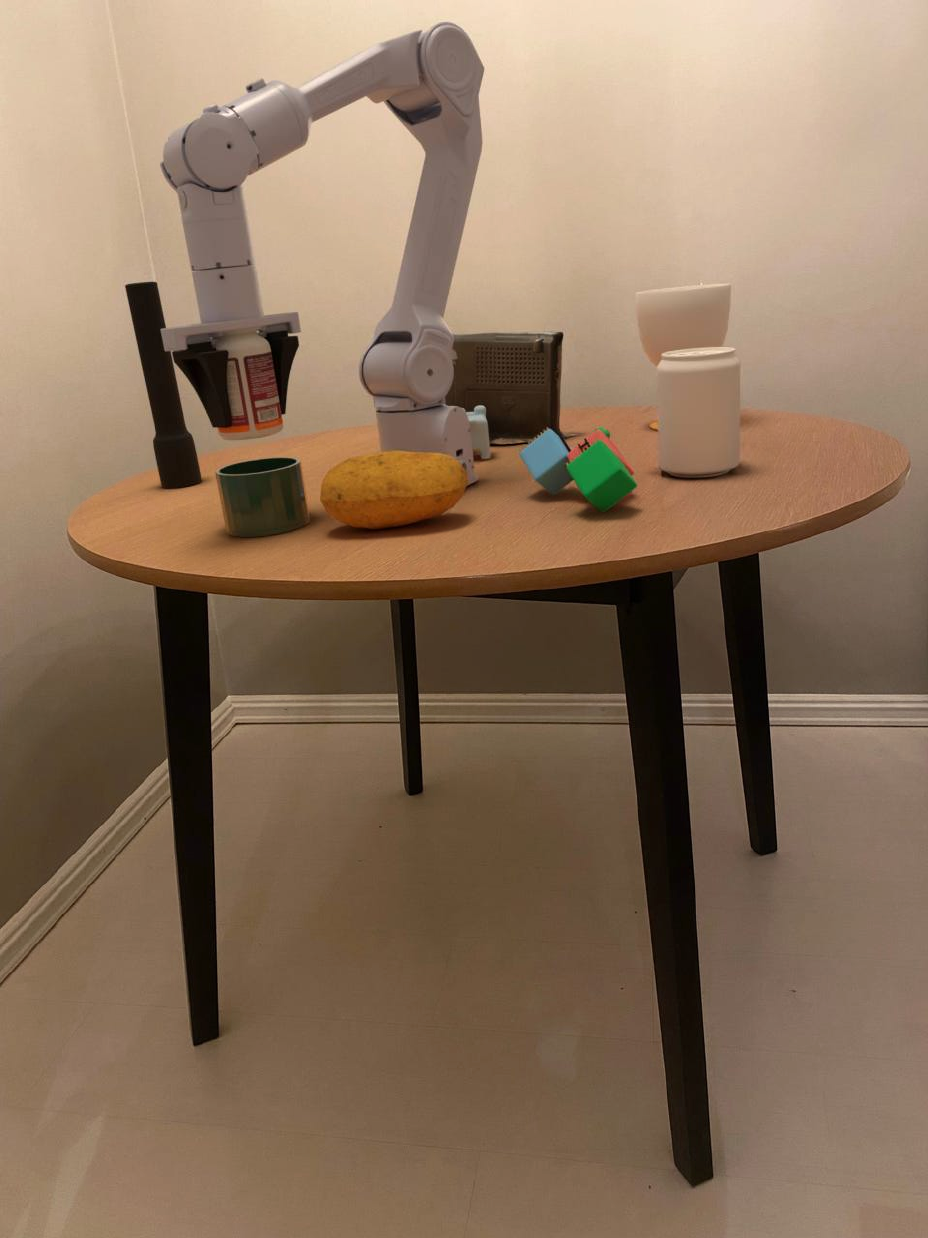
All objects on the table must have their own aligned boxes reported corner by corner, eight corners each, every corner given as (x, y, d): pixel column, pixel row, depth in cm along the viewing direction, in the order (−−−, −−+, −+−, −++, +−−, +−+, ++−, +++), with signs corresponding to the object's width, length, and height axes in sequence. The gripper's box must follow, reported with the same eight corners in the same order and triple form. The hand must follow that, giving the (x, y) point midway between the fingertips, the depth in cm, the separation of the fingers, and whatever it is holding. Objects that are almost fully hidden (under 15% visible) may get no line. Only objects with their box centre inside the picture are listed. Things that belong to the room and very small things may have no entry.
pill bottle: (282, 426, 93) (263, 307, 89) (285, 435, 88) (265, 308, 84) (220, 434, 92) (197, 314, 88) (218, 444, 87) (194, 315, 83)
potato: (332, 521, 92) (321, 452, 90) (471, 508, 91) (464, 439, 89) (319, 543, 85) (308, 468, 82) (471, 529, 84) (464, 454, 82)
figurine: (487, 449, 121) (482, 401, 119) (492, 460, 113) (488, 409, 111) (456, 452, 121) (451, 404, 119) (460, 464, 113) (454, 412, 111)
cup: (639, 435, 119) (635, 294, 113) (638, 420, 130) (635, 290, 124) (735, 429, 117) (736, 284, 111) (726, 414, 128) (726, 282, 122)
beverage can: (742, 477, 93) (743, 352, 89) (658, 481, 95) (655, 358, 90) (736, 460, 100) (737, 344, 96) (659, 464, 102) (656, 350, 98)
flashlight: (197, 485, 116) (205, 477, 121) (156, 280, 108) (167, 280, 113) (157, 490, 116) (167, 481, 121) (113, 284, 108) (125, 284, 113)
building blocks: (588, 553, 90) (535, 467, 96) (657, 500, 87) (599, 415, 93) (549, 524, 84) (496, 434, 90) (623, 466, 81) (563, 378, 87)
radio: (579, 434, 124) (573, 317, 119) (552, 447, 117) (544, 323, 112) (430, 434, 136) (419, 327, 131) (397, 446, 129) (384, 334, 124)
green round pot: (326, 516, 94) (317, 457, 92) (274, 538, 88) (264, 475, 86) (262, 513, 98) (252, 456, 96) (209, 535, 92) (197, 474, 90)
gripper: (256, 267, 92) (279, 407, 97) (129, 277, 82) (161, 433, 87) (305, 261, 88) (327, 407, 93) (177, 271, 78) (208, 435, 82)
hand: (250, 420), depth 89 cm, fingers closed on pill bottle, 6 cm apart
